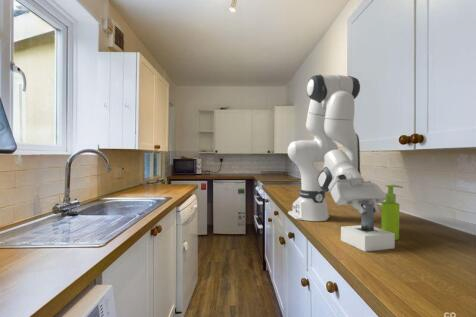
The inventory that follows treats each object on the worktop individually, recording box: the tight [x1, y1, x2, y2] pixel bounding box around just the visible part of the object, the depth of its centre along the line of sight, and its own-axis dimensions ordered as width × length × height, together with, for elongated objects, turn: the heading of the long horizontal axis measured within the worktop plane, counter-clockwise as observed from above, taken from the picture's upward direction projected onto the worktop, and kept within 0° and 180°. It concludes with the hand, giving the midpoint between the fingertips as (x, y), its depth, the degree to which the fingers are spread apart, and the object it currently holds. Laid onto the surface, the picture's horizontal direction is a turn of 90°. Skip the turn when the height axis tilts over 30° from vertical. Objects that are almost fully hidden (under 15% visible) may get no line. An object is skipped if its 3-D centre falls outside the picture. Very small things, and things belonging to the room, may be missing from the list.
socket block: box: [340, 224, 396, 252], centre depth 94 cm, size 12×12×5 cm
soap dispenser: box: [380, 184, 403, 241], centre depth 101 cm, size 6×7×20 cm
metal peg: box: [360, 204, 375, 231], centre depth 93 cm, size 4×4×9 cm
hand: (369, 212), depth 92 cm, fingers closed on metal peg, 4 cm apart
